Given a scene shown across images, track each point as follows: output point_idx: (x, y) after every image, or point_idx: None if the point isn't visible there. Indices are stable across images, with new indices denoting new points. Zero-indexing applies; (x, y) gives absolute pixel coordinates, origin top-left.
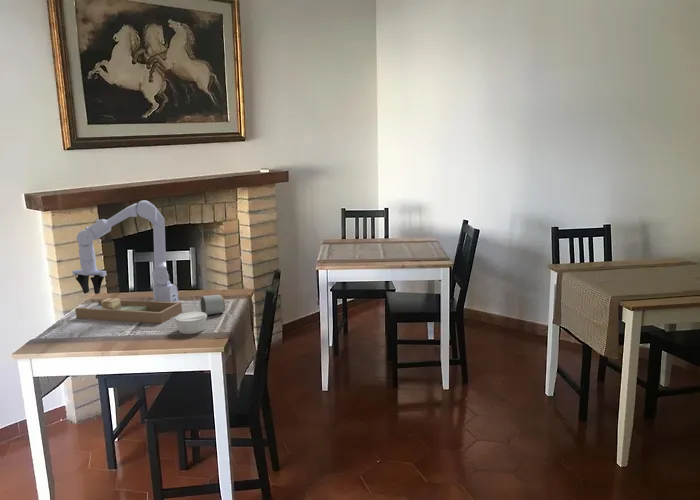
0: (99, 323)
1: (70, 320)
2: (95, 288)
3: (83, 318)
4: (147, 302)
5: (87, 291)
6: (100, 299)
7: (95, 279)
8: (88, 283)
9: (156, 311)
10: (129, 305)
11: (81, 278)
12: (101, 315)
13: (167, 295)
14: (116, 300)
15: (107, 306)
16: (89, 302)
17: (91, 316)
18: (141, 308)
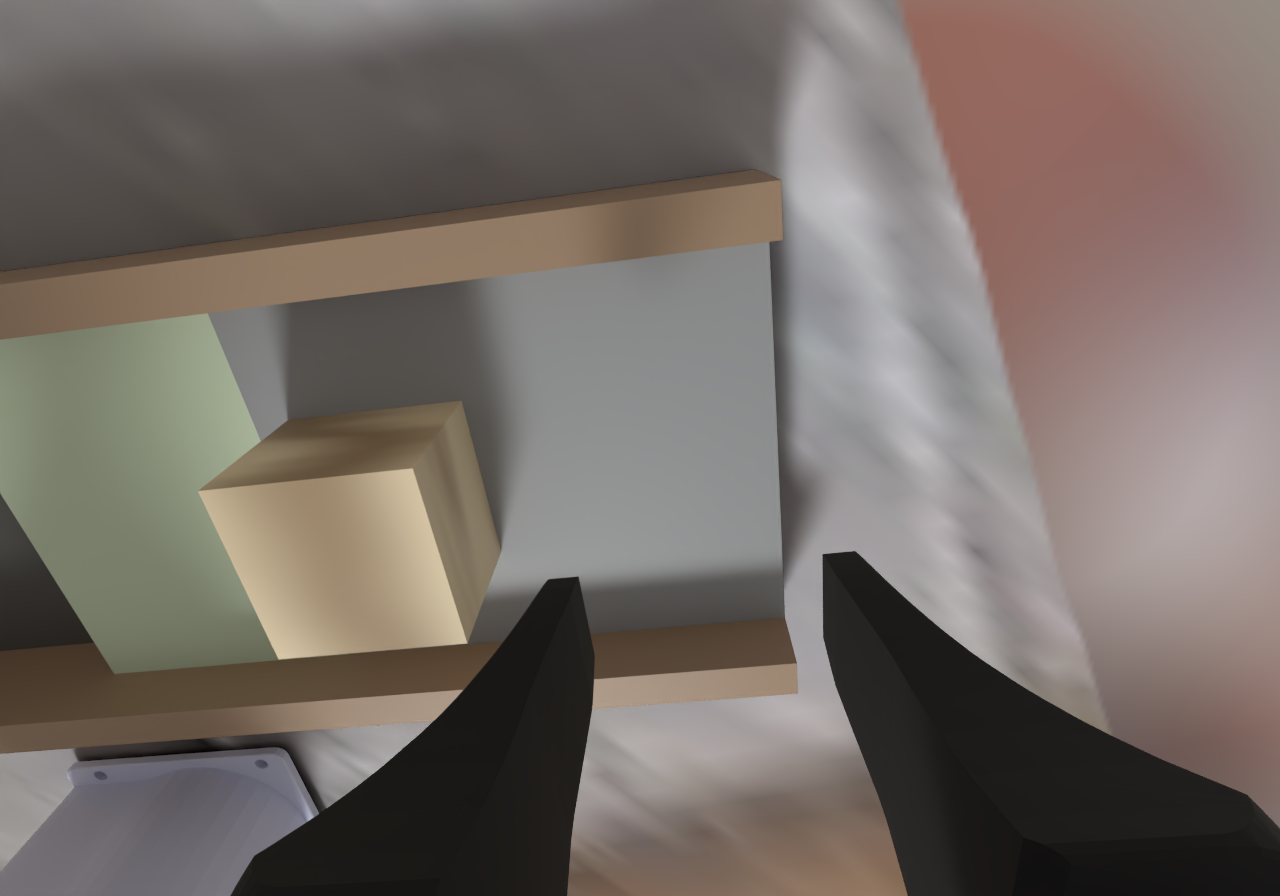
0: (189, 69)
1: (771, 45)
2: (498, 652)
3: (631, 186)
4: (61, 715)
5: (828, 626)
6: (758, 668)
7: (245, 877)
8: (888, 824)
9: (34, 641)
10: (338, 656)
11: (1002, 880)
12: (290, 237)
13: (8, 892)
14: (249, 582)
15: (336, 442)
16: (1074, 716)
17: (480, 210)
18: (84, 606)
